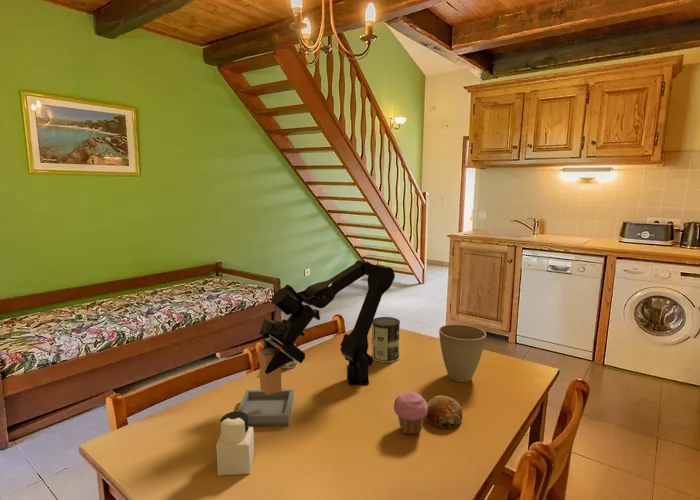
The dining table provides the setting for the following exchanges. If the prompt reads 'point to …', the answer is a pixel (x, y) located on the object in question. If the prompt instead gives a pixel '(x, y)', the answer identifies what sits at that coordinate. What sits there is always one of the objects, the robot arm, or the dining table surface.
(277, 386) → the block
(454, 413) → the bread roll
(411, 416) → the cupcake
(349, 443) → the dining table surface
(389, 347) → the coffee can
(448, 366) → the plant pot
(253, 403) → the tray
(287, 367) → the supplement bottle
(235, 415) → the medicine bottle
